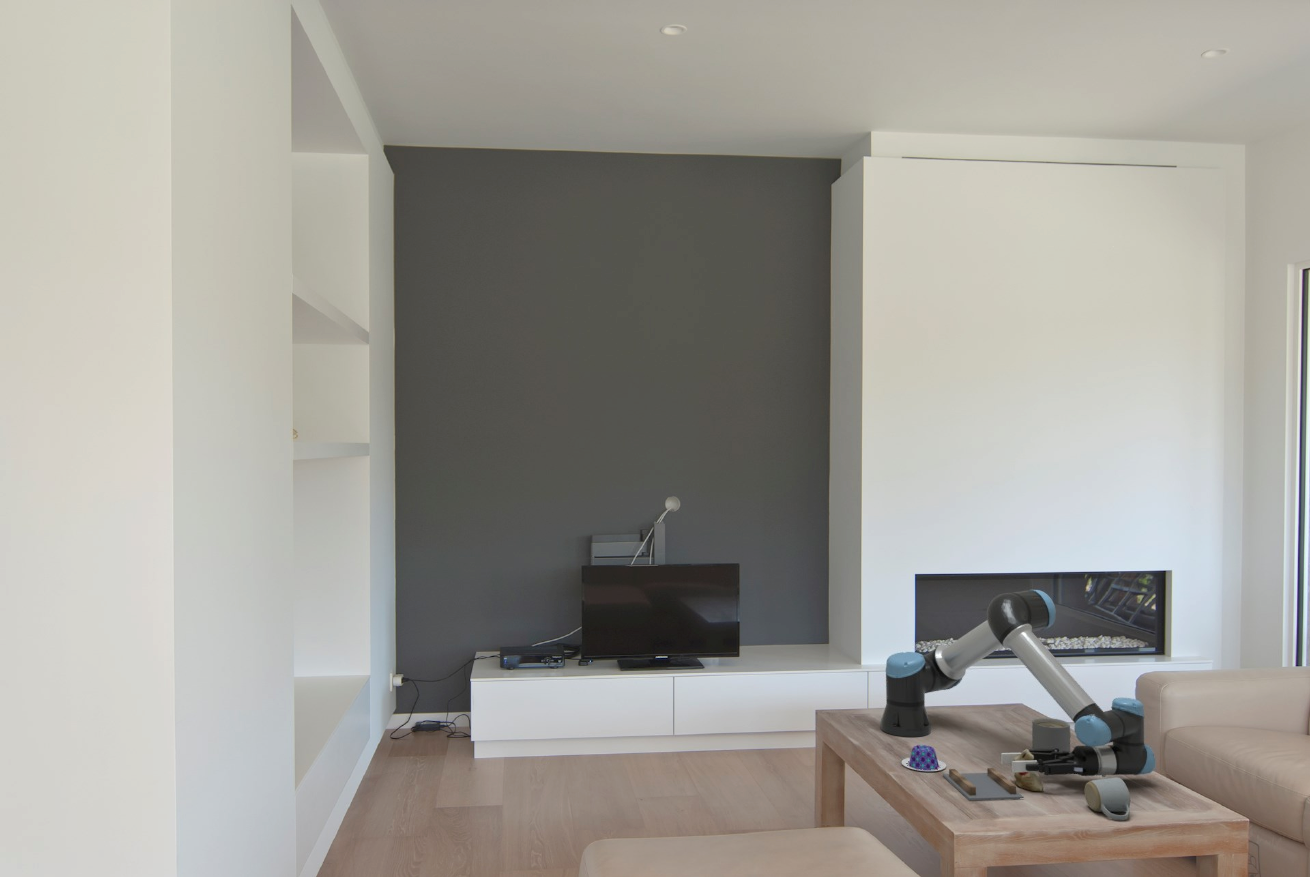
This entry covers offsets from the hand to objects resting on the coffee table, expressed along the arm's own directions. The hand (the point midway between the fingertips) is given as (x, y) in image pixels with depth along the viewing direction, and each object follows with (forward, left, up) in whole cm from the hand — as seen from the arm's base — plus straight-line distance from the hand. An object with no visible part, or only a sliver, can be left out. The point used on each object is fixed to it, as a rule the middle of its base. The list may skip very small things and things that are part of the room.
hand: (1007, 762), depth 247 cm
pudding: (-18, -16, -7) cm, 25 cm away
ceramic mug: (+19, +17, -7) cm, 26 cm away
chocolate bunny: (+1, +5, -6) cm, 8 cm away
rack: (0, -7, -6) cm, 9 cm away
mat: (0, -7, -6) cm, 9 cm away
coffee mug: (-22, +24, -6) cm, 33 cm away
